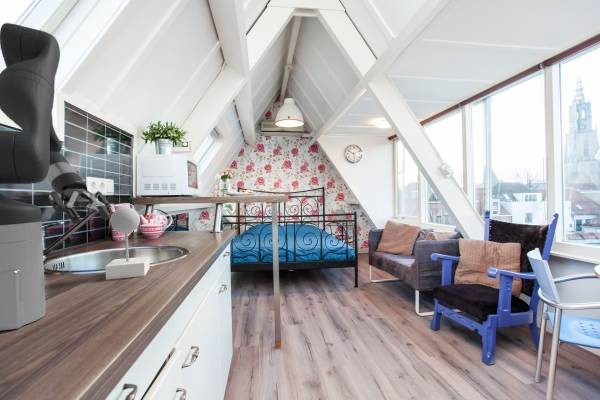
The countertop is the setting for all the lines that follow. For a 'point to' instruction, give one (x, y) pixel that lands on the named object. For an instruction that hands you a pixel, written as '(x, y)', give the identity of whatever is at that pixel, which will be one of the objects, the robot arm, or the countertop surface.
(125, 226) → the lollipop
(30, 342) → the countertop surface
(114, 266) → the white soap bar
